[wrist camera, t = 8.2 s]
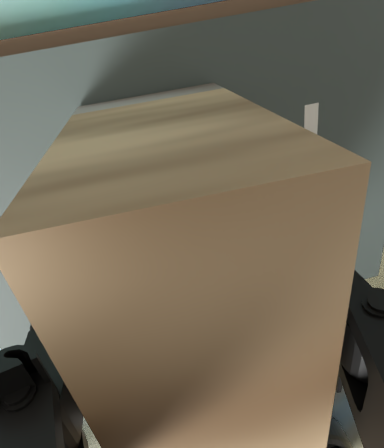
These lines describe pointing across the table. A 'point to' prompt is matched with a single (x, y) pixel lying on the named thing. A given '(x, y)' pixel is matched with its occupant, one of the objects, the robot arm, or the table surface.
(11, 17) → the table surface
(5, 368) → the robot arm
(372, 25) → the slate board
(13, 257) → the wooden block
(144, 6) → the table surface
